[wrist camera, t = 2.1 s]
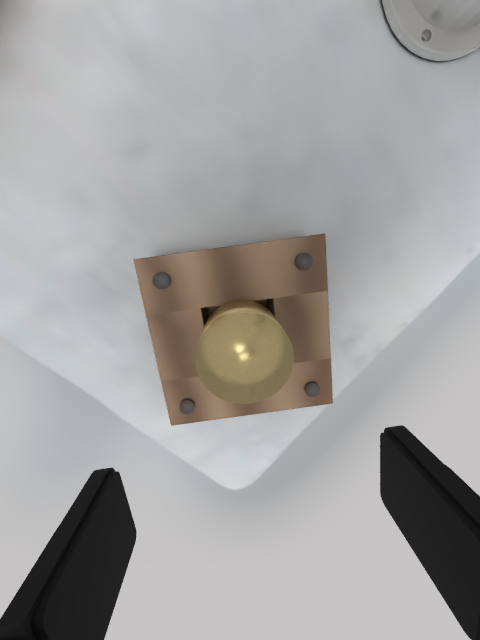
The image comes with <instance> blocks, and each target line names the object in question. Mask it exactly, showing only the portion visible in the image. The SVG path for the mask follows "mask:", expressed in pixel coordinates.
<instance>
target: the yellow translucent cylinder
mask: <svg viewBox="0 0 480 640" xmlns="http://www.w3.org/2000/svg"><path fill="white" fill-rule="evenodd" d="M293 362H294V353H293V347H292V344H291V341H290V339H289V337H288V335H287V334H286V332H285V331H284V329H283V328H282V326H281V325H280V324H279V322H278V321H277V319H276V318H275V316H274V315H273V314H272V313H271V312H270V311H269V310H268V309H267V308H266V307H264V306H263V305H261V304H259V303H257V302H254V301H249V300H235V301H231V302H228V303H225V304H223V305H221V306H220V307H218V308H217V309H216V310H215V311H214V312H213V313H212V314H211V315H210V316H209V318H208V319H207V321H206V324H205V326H204V329H203V332H202V335H201V338H200V341H199V344H198V347H197V351H196V368H197V372H198V375H199V377H200V379H201V381H202V383H203V384H204V385H205V387H206V388H207V389H208V390H209V391H210V392H211V393H212V394H214V395H215V396H217V397H218V398H220V399H222V400H224V401H227V402H231V403H235V404H252V403H257V402H260V401H263V400H265V399H268V398H269V397H271V396H273V395H274V394H275V393H277V392H278V391H279V390H280V389H281V388H282V387H283V386H284V384H285V383H286V382H287V380H288V378H289V376H290V374H291V372H292V368H293Z"/></svg>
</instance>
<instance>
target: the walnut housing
mask: <svg viewBox="0 0 480 640" xmlns="http://www.w3.org/2000/svg"><path fill="white" fill-rule="evenodd" d="M133 260H134V264H135V269H136V273H137V277H138V282H139V286H140V291H141V295H142V299H143V304H144V308H145V313H146V317H147V321H148V326H149V330H150V335H151V339H152V343H153V348H154V352H155V356H156V361H157V365H158V370H159V374H160V378H161V383H162V387H163V392H164V396H165V400H166V405H167V409H168V414H169V418H170V422H171V426H172V425H179V424H186V423H193V422H201V421H208V420H215V419H222V418H230V417H237V416H244V415H252V414H259V413H266V412H273V411H281V410H288V409H295V408H303V407H310V406H317V405H324V404H332V403H333V398H332V375H331V353H330V331H329V308H328V286H327V264H326V241H325V234H319V235H311V236H304V237H297V238H289V239H282V240H274V241H267V242H259V243H252V244H244V245H237V246H230V247H222V248H215V249H207V250H200V251H192V252H185V253H177V254H170V255H162V256H155V257H148V258H140V259H133ZM235 300H249V301H254V302H257V303H259V304H261V305H263V306H264V307H266V308H267V309H268V310H269V311H270V312H271V313H272V314H273V315H274V316H275V318H276V319H277V321H278V322H279V324H280V325H281V326H282V328H283V329H284V331H285V332H286V334H287V335H288V337H289V339H290V341H291V344H292V347H293V353H294V362H293V368H292V372H291V374H290V376H289V378H288V380H287V382H286V383H285V384H284V386H283V387H282V388H281V389H280V390H279V391H278V392H277V393H275V394H274V395H273V396H271V397H269V398H268V399H265V400H263V401H260V402H257V403H252V404H235V403H231V402H227V401H224V400H222V399H220V398H218V397H217V396H215V395H214V394H212V393H211V392H210V391H209V390H208V389H207V388H206V387H205V385H204V384H203V383H202V381H201V379H200V377H199V375H198V372H197V368H196V351H197V347H198V344H199V341H200V338H201V335H202V332H203V329H204V326H205V324H206V321H207V319H208V318H209V316H210V315H211V314H212V313H213V312H214V311H215V310H216V309H217V308H218V307H220V306H221V305H223V304H225V303H228V302H231V301H235Z"/></svg>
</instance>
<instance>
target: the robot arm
mask: <svg viewBox="0 0 480 640" xmlns="http://www.w3.org/2000/svg"><path fill="white" fill-rule="evenodd" d="M382 3H383V7H384V11H385V14H386V18H387V20H388V22H389V24H390V26H391V29H392V31H393V32H394V34H395V35H396V36H397V38H398V39H399V40H400V42H401V43H402V44H403V45H404V46H405V47H406V48H408V49H409V50H410V51H411V52H413V53H415V54H417V55H418V56H420V57H422V58H426V59H430V60H434V61H449V60H453V59H457V58H461V57H463V56H465V55H467V54H469V53H471V52H474V51H475V50H476V49H478V48H479V47H480V0H382ZM380 473H381V475H380V486H381V487H380V492H381V498H382V501H383V503H384V505H385V507H386V508H387V510H388V511H389V513H390V515H391V516H392V518H393V519H394V521H395V523H396V524H397V526H398V527H399V529H400V530H401V532H402V534H403V535H404V537H405V538H406V540H407V541H408V543H409V545H410V546H411V548H412V549H413V551H414V553H415V554H416V556H417V557H418V559H419V560H420V562H421V564H422V565H423V567H424V568H425V570H426V571H427V573H428V575H429V576H430V578H431V579H432V581H433V582H434V584H435V586H436V587H437V589H438V591H439V592H440V594H441V595H442V597H443V598H444V600H445V601H446V603H447V605H448V606H449V608H450V609H451V611H452V613H453V614H454V616H455V617H456V619H457V621H458V622H459V624H460V625H461V627H462V628H463V630H464V631H465V633H466V634H467V635H468V637H469V638H470V639H472V640H480V496H479V495H478V494H476V493H475V492H474V491H473V490H472V489H471V488H470V487H469V486H468V485H467V484H466V483H465V482H464V481H463V480H462V479H461V478H460V477H459V476H457V475H456V474H455V473H454V472H453V471H452V470H451V469H450V468H449V467H447V466H446V465H444V464H443V463H442V462H441V461H440V460H439V459H438V458H437V457H436V456H435V455H434V454H433V453H432V452H430V451H429V449H427V448H426V447H425V446H424V445H423V444H422V443H421V442H420V441H419V440H418V439H417V438H416V437H415V436H414V435H413V434H412V433H411V432H410V431H409V430H407V428H405V427H404V426H395V427H388V428H385V430H384V433H381V435H380ZM135 541H136V528H135V524H134V521H133V518H132V514H131V511H130V507H129V504H128V500H127V497H126V494H125V491H124V487H123V484H122V480H121V477H120V474H119V472H115V470H114V469H113V468H107V469H100V470H95V471H94V472H93V473H92V474H91V476H90V478H89V479H88V481H87V482H86V484H85V485H84V487H83V489H82V490H81V492H80V493H79V495H78V497H77V498H76V500H75V501H74V503H73V505H72V506H71V508H70V510H69V511H68V513H67V514H66V516H65V518H64V519H63V521H62V522H61V524H60V525H59V527H58V528H57V530H56V531H55V533H54V534H53V536H52V538H51V539H50V541H49V542H48V544H47V545H46V547H45V549H44V550H43V552H42V554H41V555H40V557H39V558H38V560H37V562H36V563H35V565H34V566H33V568H32V569H31V571H30V573H29V574H28V576H27V577H26V579H25V581H24V582H23V584H22V586H21V587H20V589H19V590H18V592H17V593H16V595H15V597H14V598H13V600H12V601H11V603H10V605H9V606H8V608H7V609H6V611H5V613H4V614H3V616H2V617H1V619H0V640H104V638H105V635H106V631H107V628H108V625H109V622H110V619H111V616H112V613H113V610H114V607H115V604H116V600H117V597H118V594H119V591H120V588H121V585H122V582H123V579H124V576H125V573H126V570H127V567H128V563H129V560H130V557H131V554H132V551H133V548H134V545H135Z"/></svg>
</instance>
